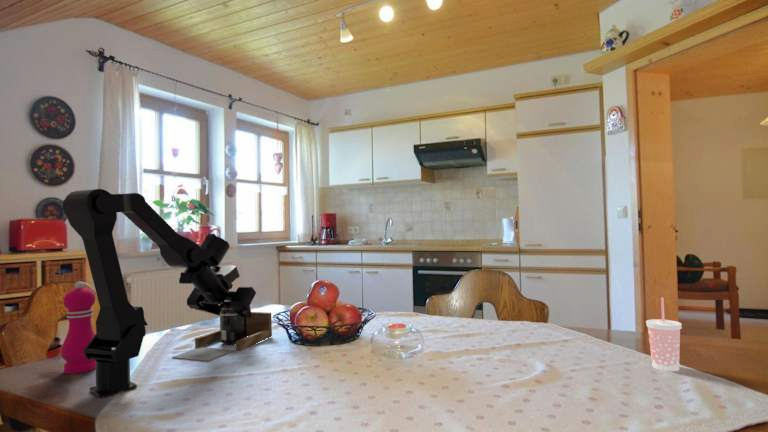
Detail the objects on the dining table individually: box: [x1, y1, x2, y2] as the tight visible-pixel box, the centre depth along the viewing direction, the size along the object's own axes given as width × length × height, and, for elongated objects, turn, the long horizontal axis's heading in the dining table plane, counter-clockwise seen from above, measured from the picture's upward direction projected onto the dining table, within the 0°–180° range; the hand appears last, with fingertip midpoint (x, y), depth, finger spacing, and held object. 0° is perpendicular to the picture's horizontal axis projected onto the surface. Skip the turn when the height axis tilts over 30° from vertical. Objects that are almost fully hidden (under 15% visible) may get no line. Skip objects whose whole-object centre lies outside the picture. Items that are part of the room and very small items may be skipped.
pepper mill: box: [60, 281, 96, 375], centre depth 100 cm, size 7×7×20 cm
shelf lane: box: [194, 311, 273, 352], centre depth 119 cm, size 14×14×7 cm
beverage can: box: [219, 300, 247, 346], centre depth 119 cm, size 7×7×12 cm
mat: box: [171, 346, 235, 363], centre depth 108 cm, size 9×11×1 cm
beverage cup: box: [645, 296, 682, 372], centre depth 88 cm, size 6×6×14 cm
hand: (236, 315), depth 120 cm, fingers open, 9 cm apart
